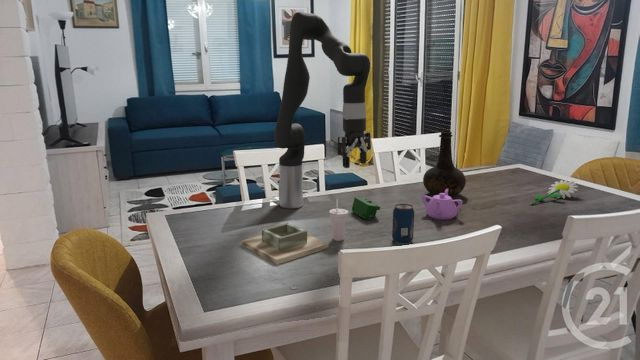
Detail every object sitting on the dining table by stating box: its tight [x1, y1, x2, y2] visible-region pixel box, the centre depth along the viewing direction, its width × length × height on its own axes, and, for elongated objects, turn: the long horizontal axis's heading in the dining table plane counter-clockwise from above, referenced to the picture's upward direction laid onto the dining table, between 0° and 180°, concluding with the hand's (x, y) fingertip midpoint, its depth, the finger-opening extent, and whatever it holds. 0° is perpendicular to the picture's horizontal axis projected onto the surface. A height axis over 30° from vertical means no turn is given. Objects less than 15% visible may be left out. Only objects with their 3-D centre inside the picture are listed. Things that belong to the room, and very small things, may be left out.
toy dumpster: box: [351, 197, 381, 220], centre depth 194 cm, size 12×6×9 cm, turn 17°
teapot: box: [421, 189, 463, 221], centre depth 192 cm, size 12×14×9 cm
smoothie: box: [328, 198, 349, 242], centre depth 168 cm, size 6×6×14 cm
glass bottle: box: [422, 130, 467, 198], centre depth 217 cm, size 18×18×28 cm
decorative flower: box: [528, 179, 579, 206], centre depth 214 cm, size 13×5×30 cm
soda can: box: [391, 203, 415, 245], centre depth 167 cm, size 7×7×12 cm
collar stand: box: [240, 222, 329, 265], centre depth 163 cm, size 20×20×6 cm
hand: (354, 165), depth 168 cm, fingers open, 8 cm apart
